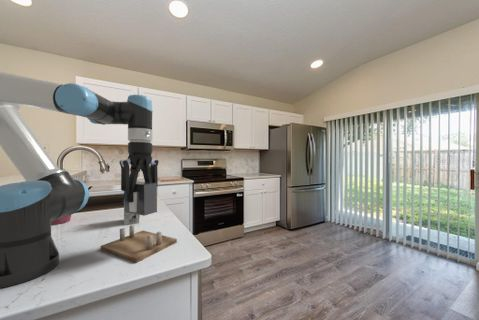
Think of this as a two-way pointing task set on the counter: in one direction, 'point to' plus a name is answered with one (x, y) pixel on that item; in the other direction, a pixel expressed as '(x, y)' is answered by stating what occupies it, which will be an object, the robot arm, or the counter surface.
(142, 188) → the grey square block
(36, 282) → the counter surface
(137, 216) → the coffee box
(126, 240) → the pin tray
